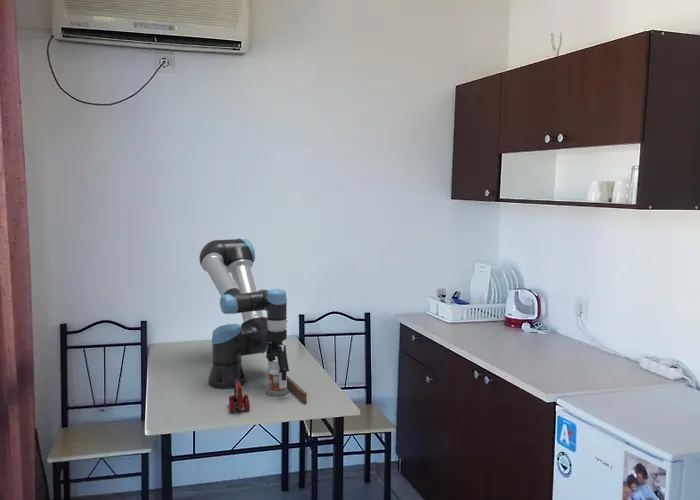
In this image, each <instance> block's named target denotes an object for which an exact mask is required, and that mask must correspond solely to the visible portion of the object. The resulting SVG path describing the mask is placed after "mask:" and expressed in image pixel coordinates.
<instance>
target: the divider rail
mask: <svg viewBox="0 0 700 500" xmlns="http://www.w3.org/2000/svg"><path fill="white" fill-rule="evenodd" d="M287 389H289V393H291V394H292V395H294V397H296V398H297V400H299V401H300V402H301V403H302V404H303V405H306V404H308V403H307V402H308V398H307V397H308V395H307V391H305V390H304V389H303V388H301V387H300V386H299V385H298V384H297V383H296V381H295V382H294V381H293V380H292V379H291V377H289V376H288V375H287Z"/></svg>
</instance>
